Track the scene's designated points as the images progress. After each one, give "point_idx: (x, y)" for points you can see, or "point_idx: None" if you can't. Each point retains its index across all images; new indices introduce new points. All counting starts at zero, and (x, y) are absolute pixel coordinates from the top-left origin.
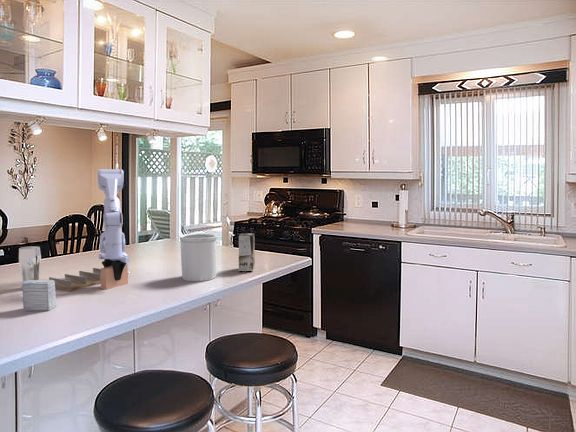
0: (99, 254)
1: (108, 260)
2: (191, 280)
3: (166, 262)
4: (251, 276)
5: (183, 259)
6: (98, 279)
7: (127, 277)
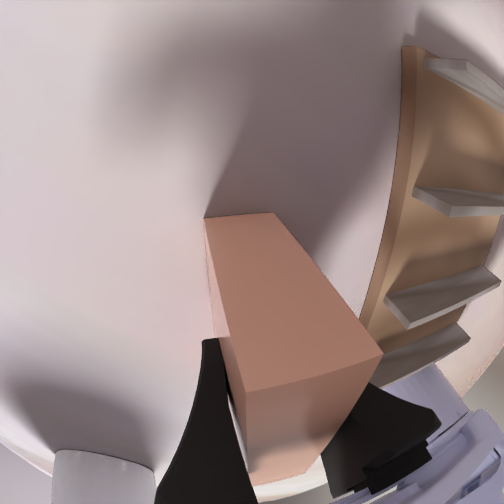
0: (496, 443)
1: (380, 477)
2: (70, 451)
3: None
4: (52, 473)
5: None
6: (399, 295)
7: None
